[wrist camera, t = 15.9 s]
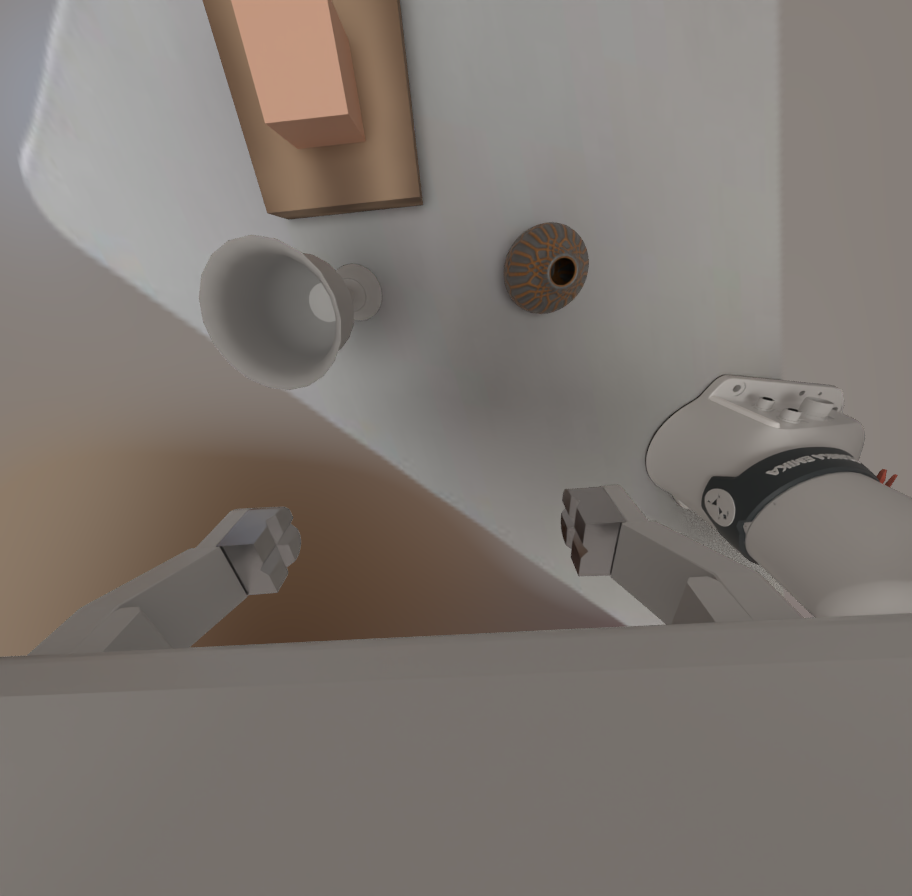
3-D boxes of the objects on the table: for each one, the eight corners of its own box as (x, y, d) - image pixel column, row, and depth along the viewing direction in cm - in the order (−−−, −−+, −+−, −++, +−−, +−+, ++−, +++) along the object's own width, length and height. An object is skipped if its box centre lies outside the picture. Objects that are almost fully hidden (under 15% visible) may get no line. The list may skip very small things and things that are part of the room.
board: (399, -5, 23) (391, -53, 20) (422, 204, 29) (420, 196, 26) (231, 15, 23) (193, -29, 20) (288, 219, 29) (267, 213, 26)
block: (348, 39, 21) (324, -18, 17) (365, 141, 24) (348, 114, 20) (272, 48, 22) (229, -7, 17) (297, 149, 24) (265, 123, 20)
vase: (534, 208, 29) (566, 188, 22) (585, 263, 32) (630, 262, 24) (484, 276, 32) (496, 280, 24) (534, 323, 34) (560, 339, 27)
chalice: (325, 238, 30) (194, 210, 14) (398, 264, 31) (352, 265, 16) (316, 320, 33) (202, 369, 18) (382, 340, 35) (331, 404, 19)
